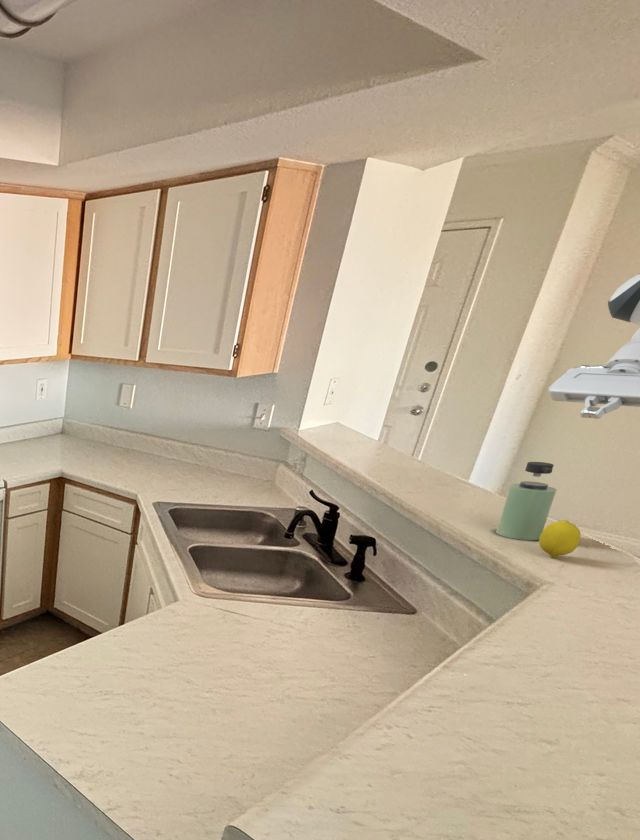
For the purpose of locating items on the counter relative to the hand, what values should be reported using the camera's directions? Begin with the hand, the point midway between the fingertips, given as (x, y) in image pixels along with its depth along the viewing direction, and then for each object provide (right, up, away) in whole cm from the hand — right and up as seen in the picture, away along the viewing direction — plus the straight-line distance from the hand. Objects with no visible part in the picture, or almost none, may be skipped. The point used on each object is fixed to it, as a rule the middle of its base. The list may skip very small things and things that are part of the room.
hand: (589, 416), depth 126 cm
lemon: (-15, -31, -7) cm, 35 cm away
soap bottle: (-10, -26, +6) cm, 28 cm away
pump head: (-11, -13, 0) cm, 17 cm away
